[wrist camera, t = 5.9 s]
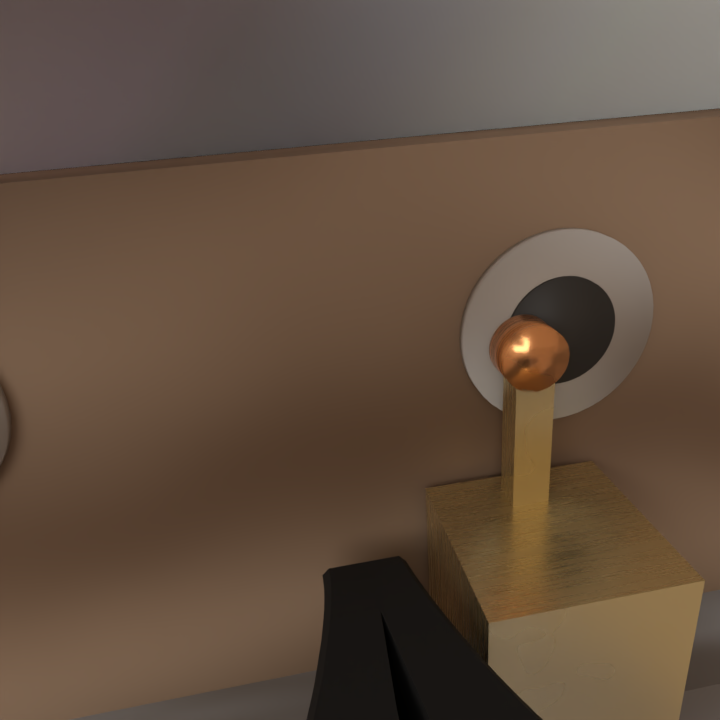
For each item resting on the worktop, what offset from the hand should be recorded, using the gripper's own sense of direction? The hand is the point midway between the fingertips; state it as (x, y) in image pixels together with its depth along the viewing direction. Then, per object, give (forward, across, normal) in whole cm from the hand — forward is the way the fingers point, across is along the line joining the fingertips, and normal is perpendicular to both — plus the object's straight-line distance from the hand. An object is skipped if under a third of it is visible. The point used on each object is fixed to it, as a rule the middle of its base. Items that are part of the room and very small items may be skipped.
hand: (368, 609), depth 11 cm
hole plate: (+2, -5, -2) cm, 5 cm away
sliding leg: (+1, -3, -2) cm, 3 cm away
